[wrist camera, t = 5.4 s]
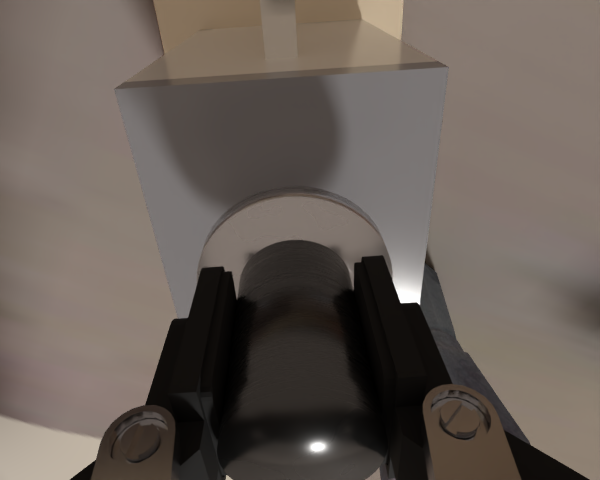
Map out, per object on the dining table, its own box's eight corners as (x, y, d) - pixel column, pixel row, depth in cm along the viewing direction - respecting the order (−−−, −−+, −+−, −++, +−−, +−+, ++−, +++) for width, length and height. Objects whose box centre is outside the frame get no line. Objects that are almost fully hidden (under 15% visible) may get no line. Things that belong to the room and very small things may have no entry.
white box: (401, -72, 25) (576, -137, 10) (385, 211, 35) (461, 384, 20) (148, -55, 25) (-44, -97, 10) (204, 223, 35) (149, 405, 20)
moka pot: (406, 354, 44) (483, 589, 27) (289, 284, 39) (296, 523, 22) (478, 297, 41) (619, 529, 24) (360, 210, 35) (435, 432, 18)
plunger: (345, 44, 26) (559, 277, 6) (345, 163, 30) (472, 535, 10) (220, 52, 26) (18, 314, 6) (237, 170, 30) (150, 557, 10)
